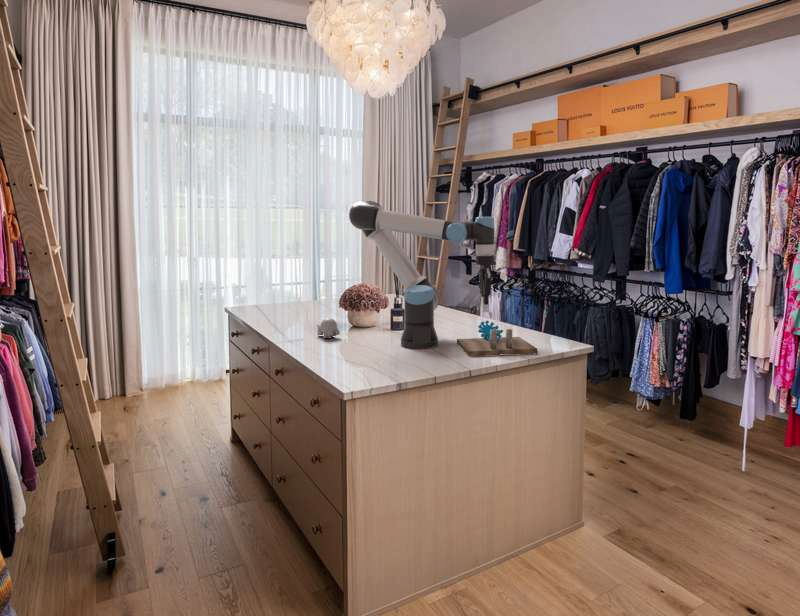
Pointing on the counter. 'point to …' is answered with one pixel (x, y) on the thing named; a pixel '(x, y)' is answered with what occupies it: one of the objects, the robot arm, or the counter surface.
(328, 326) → the chubby cartoon animal
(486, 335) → the gear
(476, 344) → the dowel plate
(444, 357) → the counter surface
